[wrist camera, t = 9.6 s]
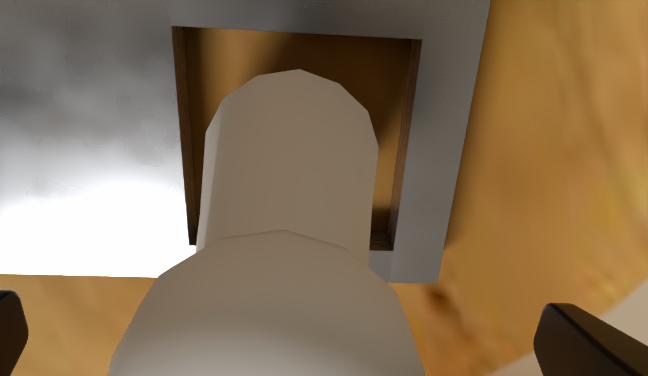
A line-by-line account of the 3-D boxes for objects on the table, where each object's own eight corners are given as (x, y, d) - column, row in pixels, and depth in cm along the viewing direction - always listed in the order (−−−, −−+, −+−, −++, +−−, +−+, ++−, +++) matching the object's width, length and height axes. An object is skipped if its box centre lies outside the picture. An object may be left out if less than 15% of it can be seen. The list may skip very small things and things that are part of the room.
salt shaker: (265, 27, 15) (121, 142, 3) (398, 111, 17) (626, 401, 5) (193, 161, 17) (-62, 537, 5) (317, 227, 19) (337, 642, 7)
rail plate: (-42, 251, 18) (-70, 271, 17) (-140, -45, 14) (-188, -49, 13) (427, 263, 19) (437, 283, 18) (475, -8, 15) (492, -8, 14)
